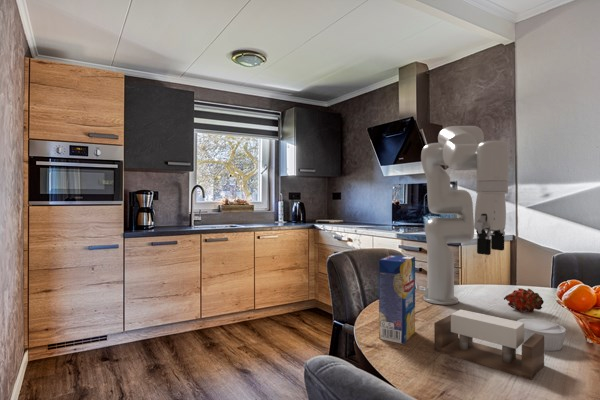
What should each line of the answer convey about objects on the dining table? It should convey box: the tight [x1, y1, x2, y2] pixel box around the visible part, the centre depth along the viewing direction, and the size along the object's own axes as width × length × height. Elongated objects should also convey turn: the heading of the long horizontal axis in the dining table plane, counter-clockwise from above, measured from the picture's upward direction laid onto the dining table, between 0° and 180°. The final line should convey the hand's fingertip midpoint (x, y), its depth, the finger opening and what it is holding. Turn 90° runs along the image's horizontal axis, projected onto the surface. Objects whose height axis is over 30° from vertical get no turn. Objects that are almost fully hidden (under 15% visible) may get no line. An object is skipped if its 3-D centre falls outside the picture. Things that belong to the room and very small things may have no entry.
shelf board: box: [450, 308, 524, 350], centre depth 92 cm, size 15×6×4 cm, turn 44°
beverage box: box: [378, 254, 416, 345], centre depth 106 cm, size 7×11×22 cm, turn 147°
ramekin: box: [517, 318, 567, 352], centre depth 100 cm, size 11×11×5 cm
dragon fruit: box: [503, 288, 545, 313], centre depth 130 cm, size 8×8×12 cm
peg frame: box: [433, 314, 545, 381], centre depth 92 cm, size 22×10×7 cm, turn 44°
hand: (490, 251), depth 100 cm, fingers open, 9 cm apart
